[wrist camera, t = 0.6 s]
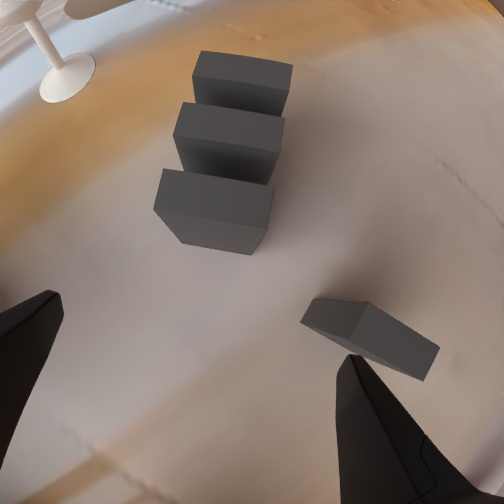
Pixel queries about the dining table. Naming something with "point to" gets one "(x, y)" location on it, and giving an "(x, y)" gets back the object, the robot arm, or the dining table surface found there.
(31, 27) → the champagne flute
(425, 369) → the domino
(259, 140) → the domino
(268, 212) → the domino
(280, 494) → the dining table surface
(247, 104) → the domino
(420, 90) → the dining table surface
